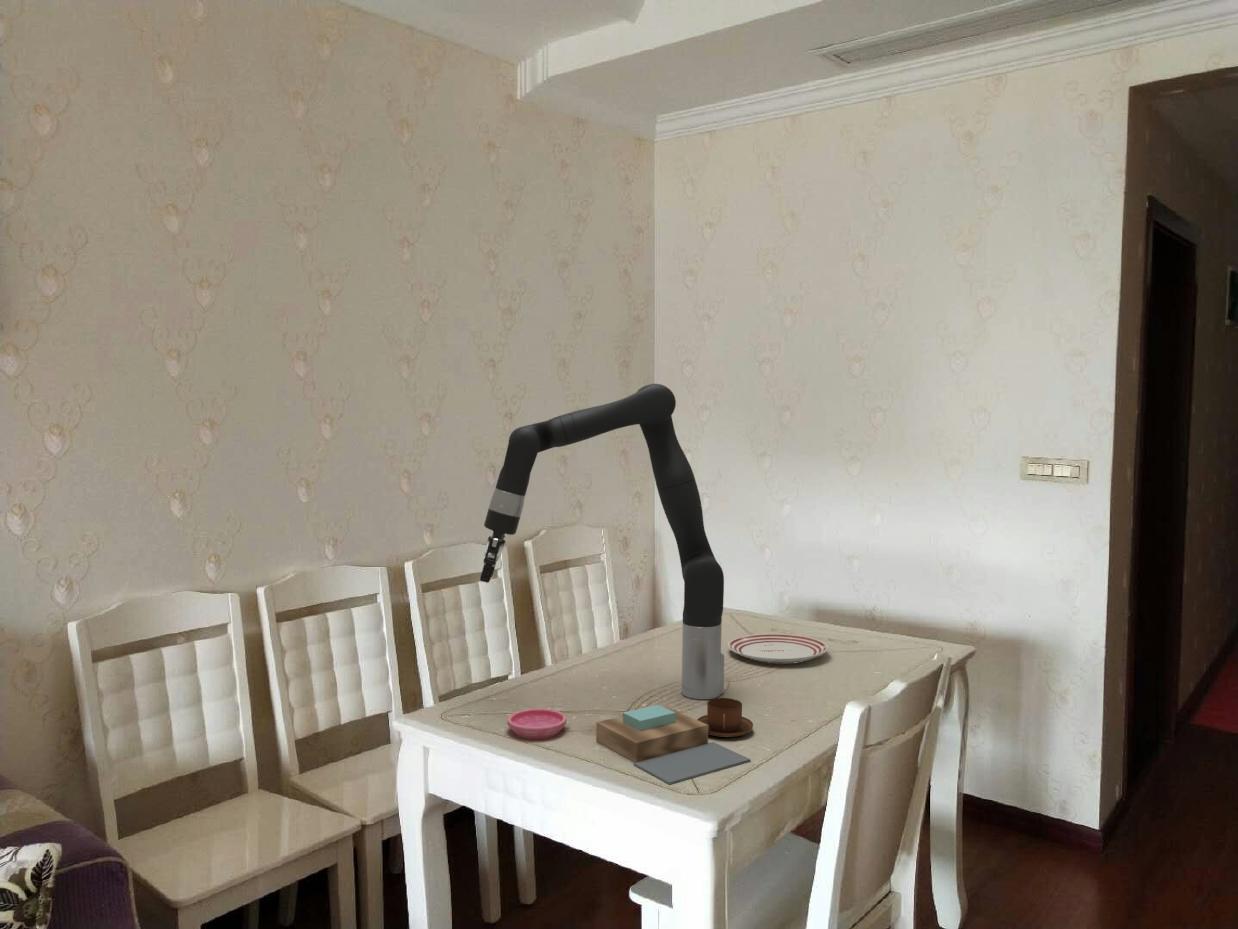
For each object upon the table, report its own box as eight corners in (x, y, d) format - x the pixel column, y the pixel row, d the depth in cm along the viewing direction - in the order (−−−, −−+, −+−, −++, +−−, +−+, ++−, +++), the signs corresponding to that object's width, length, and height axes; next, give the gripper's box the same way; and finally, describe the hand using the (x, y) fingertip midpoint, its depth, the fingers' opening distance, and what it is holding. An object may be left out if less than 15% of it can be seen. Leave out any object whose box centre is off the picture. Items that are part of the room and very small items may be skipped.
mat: (713, 744, 191) (713, 742, 191) (750, 761, 182) (750, 759, 182) (633, 765, 180) (633, 763, 180) (669, 784, 171) (669, 782, 171)
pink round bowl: (496, 729, 199) (496, 715, 199) (545, 718, 206) (545, 704, 206) (527, 747, 189) (527, 731, 189) (578, 734, 197) (578, 719, 196)
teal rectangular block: (657, 714, 197) (657, 704, 197) (675, 722, 192) (675, 712, 192) (622, 722, 192) (622, 712, 192) (640, 730, 187) (640, 721, 187)
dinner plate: (715, 662, 251) (715, 650, 251) (742, 639, 277) (742, 628, 276) (817, 675, 241) (818, 662, 241) (836, 649, 266) (836, 637, 266)
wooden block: (665, 724, 202) (665, 706, 202) (707, 744, 191) (708, 725, 191) (596, 741, 192) (596, 722, 192) (636, 763, 181) (636, 743, 180)
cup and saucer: (761, 740, 194) (761, 710, 194) (705, 744, 192) (706, 714, 191) (741, 720, 206) (742, 693, 205) (689, 724, 203) (689, 696, 203)
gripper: (519, 518, 208) (499, 588, 208) (522, 513, 222) (503, 578, 222) (486, 509, 208) (466, 579, 208) (491, 504, 222) (473, 570, 222)
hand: (485, 579), depth 215 cm, fingers open, 8 cm apart
